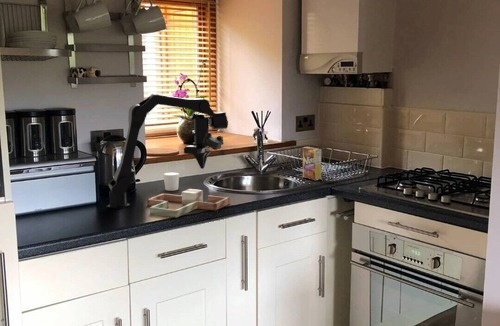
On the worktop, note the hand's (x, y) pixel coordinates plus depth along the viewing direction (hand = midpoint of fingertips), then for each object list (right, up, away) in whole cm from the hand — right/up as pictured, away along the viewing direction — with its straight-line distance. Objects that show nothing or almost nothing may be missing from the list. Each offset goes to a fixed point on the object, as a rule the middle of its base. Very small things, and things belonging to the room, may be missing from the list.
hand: (202, 168), depth 228 cm
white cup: (-15, -9, +19) cm, 26 cm away
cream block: (-3, -14, -5) cm, 15 cm away
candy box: (+48, -6, +37) cm, 61 cm away
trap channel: (-7, -15, -12) cm, 20 cm away
